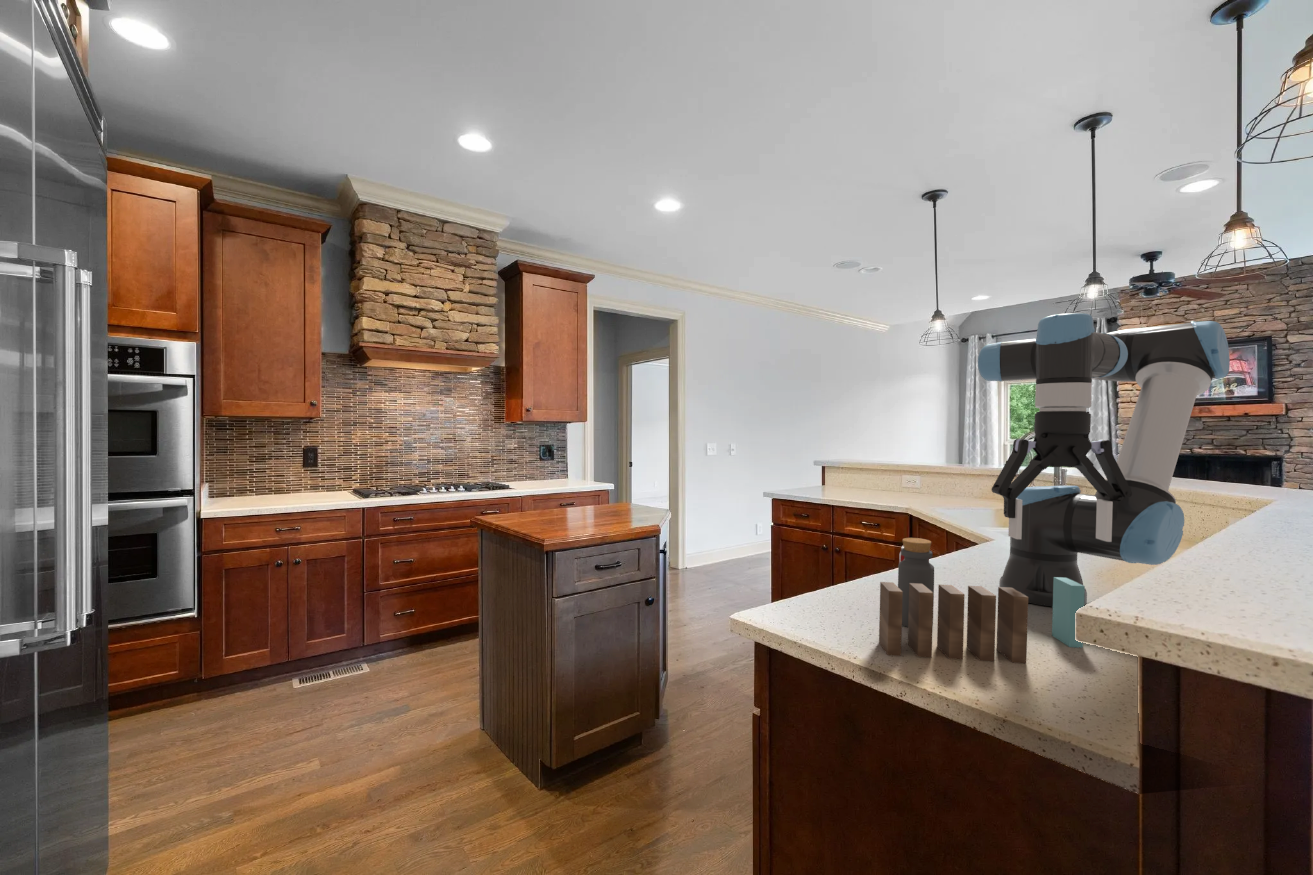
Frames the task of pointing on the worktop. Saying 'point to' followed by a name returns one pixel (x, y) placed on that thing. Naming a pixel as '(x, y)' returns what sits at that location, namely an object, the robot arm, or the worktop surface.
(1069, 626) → the tile
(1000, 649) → the tile
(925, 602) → the tile
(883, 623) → the tile
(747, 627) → the worktop surface
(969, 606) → the tile
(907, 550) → the bottle
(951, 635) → the tile
